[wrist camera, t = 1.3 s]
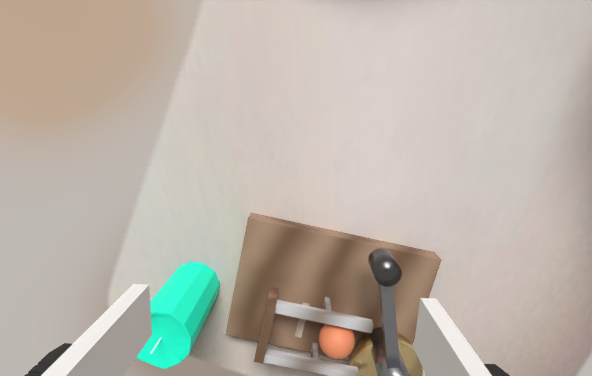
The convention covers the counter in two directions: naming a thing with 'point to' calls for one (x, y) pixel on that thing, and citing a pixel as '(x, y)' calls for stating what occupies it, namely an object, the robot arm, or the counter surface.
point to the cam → (385, 328)
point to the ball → (336, 341)
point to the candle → (179, 314)
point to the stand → (318, 290)
